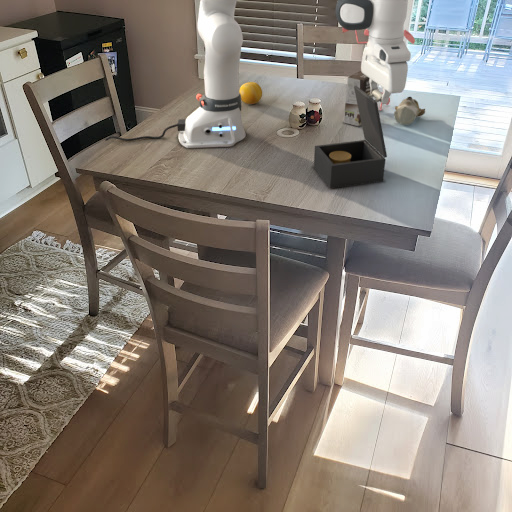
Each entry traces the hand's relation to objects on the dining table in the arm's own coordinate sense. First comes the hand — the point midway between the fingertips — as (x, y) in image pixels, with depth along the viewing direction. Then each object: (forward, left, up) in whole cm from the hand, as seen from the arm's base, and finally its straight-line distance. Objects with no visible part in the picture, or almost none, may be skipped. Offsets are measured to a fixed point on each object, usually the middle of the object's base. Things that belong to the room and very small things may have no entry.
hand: (379, 99), depth 152 cm
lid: (-2, 0, -6) cm, 7 cm away
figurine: (+24, +53, -22) cm, 62 cm away
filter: (-9, +2, -21) cm, 23 cm away
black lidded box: (-7, 0, -22) cm, 23 cm away
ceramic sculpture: (+29, +34, -22) cm, 50 cm away
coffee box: (+12, +38, -22) cm, 45 cm away
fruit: (-20, +66, -22) cm, 73 cm away
